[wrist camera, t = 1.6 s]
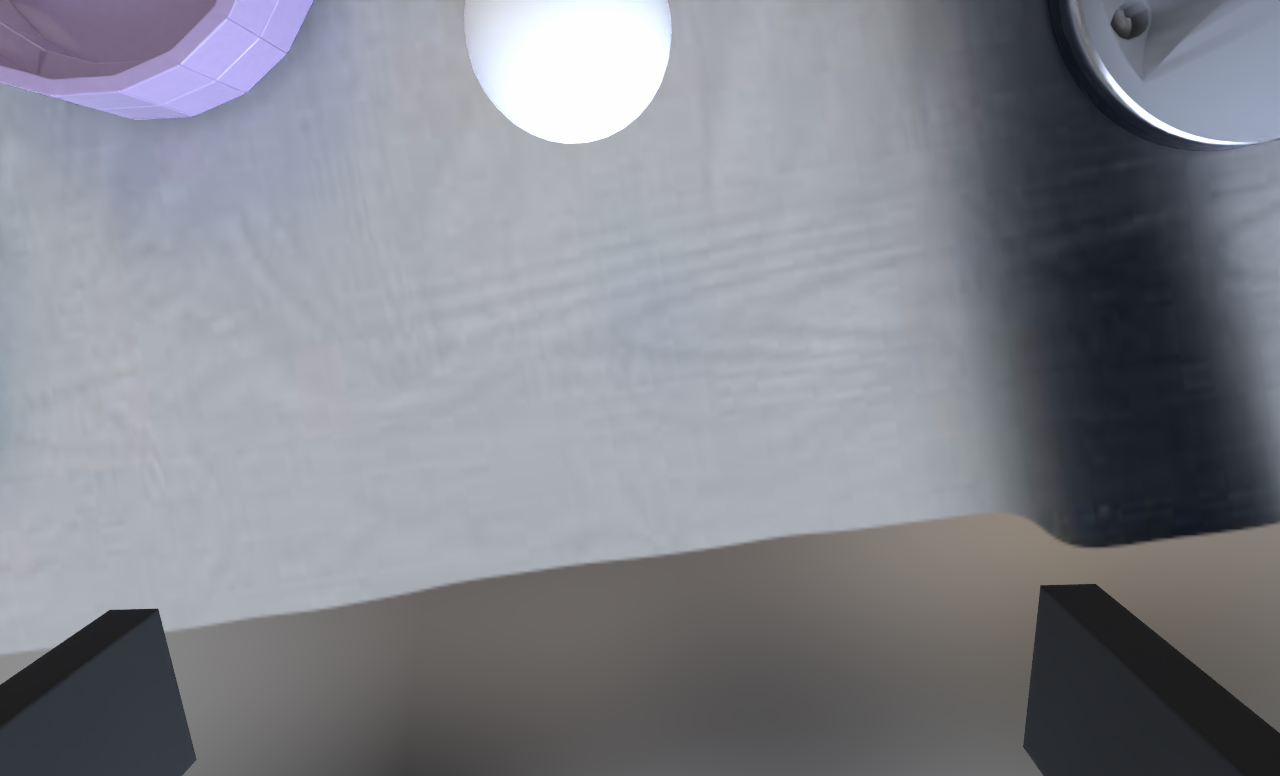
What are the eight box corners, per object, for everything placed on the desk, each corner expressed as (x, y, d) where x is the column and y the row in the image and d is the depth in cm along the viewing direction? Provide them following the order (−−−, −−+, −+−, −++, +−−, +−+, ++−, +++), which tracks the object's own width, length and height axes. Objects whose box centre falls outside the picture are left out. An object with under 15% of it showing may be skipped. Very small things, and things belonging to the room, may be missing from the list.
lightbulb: (625, 200, 28) (618, 160, 17) (494, 138, 27) (401, 57, 16) (685, 61, 27) (718, -75, 16) (549, -5, 26) (489, -193, 15)
